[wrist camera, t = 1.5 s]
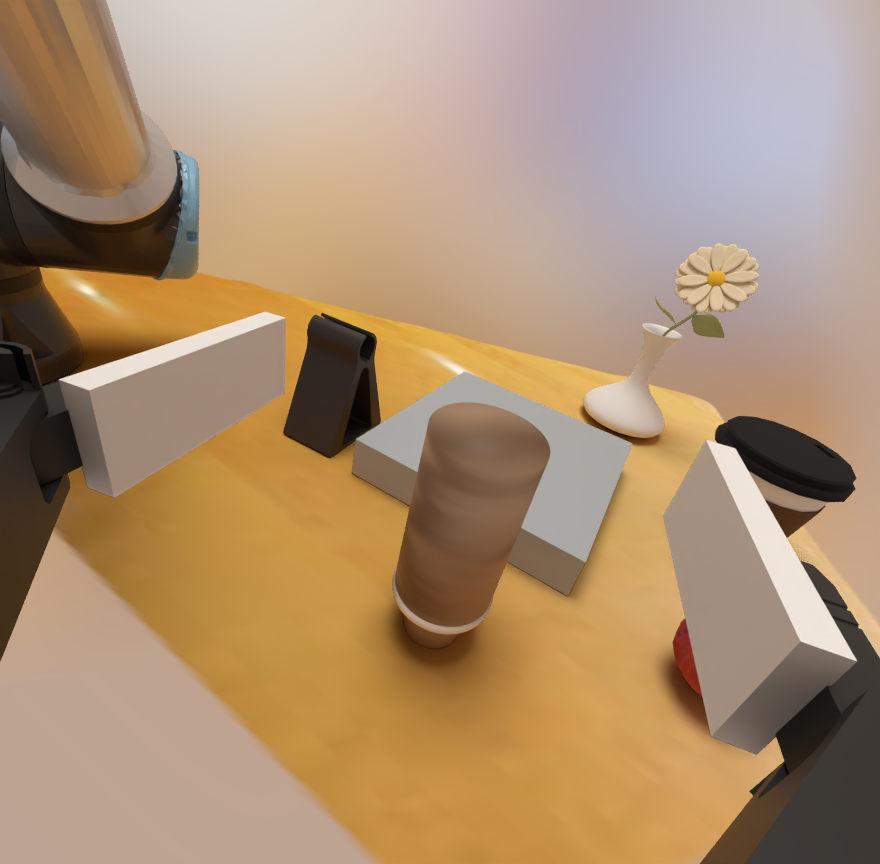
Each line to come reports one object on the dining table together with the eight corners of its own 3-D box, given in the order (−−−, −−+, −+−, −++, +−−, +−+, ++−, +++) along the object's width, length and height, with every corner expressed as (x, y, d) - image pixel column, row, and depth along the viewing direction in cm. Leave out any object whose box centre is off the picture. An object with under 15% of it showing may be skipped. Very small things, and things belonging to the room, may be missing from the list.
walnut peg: (375, 590, 33) (410, 401, 24) (457, 576, 35) (515, 401, 27) (398, 678, 28) (453, 481, 19) (492, 655, 30) (577, 471, 22)
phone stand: (329, 459, 44) (338, 346, 38) (282, 434, 46) (284, 323, 40) (380, 423, 51) (395, 324, 45) (338, 403, 53) (347, 305, 47)
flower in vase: (562, 408, 64) (638, 220, 51) (608, 397, 70) (685, 227, 57) (641, 461, 56) (755, 253, 42) (684, 442, 62) (795, 258, 49)
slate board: (351, 473, 43) (355, 439, 41) (458, 398, 60) (464, 371, 58) (567, 595, 36) (585, 562, 34) (618, 470, 53) (632, 443, 51)
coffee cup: (733, 510, 51) (798, 421, 44) (802, 591, 42) (898, 495, 35) (645, 498, 49) (700, 405, 43) (697, 581, 40) (777, 478, 34)
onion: (636, 661, 32) (692, 590, 28) (686, 636, 35) (744, 567, 30) (706, 747, 28) (784, 679, 24) (757, 711, 31) (834, 644, 26)
